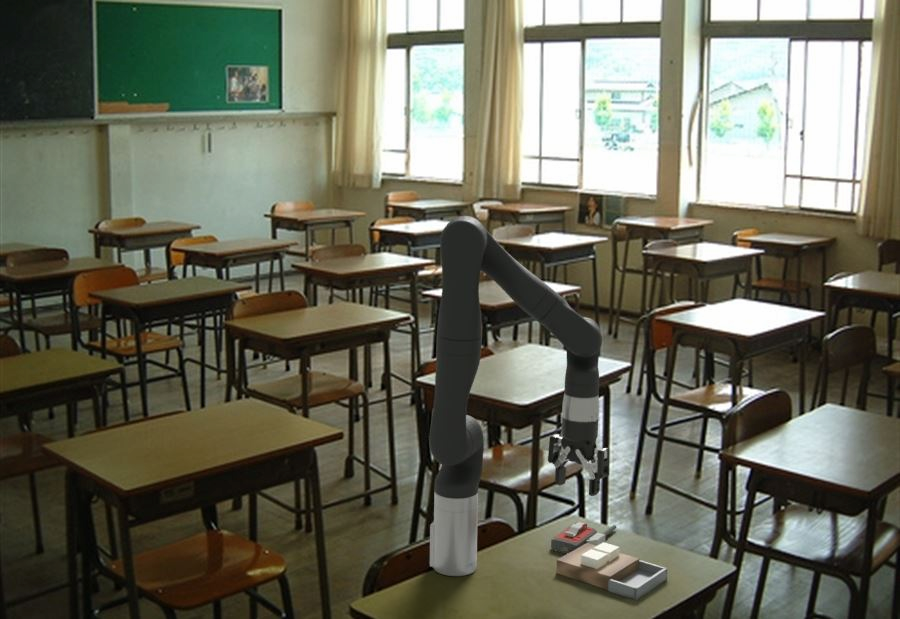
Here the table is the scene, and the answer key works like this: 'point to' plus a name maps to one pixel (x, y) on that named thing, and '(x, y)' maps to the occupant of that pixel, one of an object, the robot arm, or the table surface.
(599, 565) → the tile
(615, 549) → the tile
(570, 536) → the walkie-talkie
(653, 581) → the box
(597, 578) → the tan flat block
